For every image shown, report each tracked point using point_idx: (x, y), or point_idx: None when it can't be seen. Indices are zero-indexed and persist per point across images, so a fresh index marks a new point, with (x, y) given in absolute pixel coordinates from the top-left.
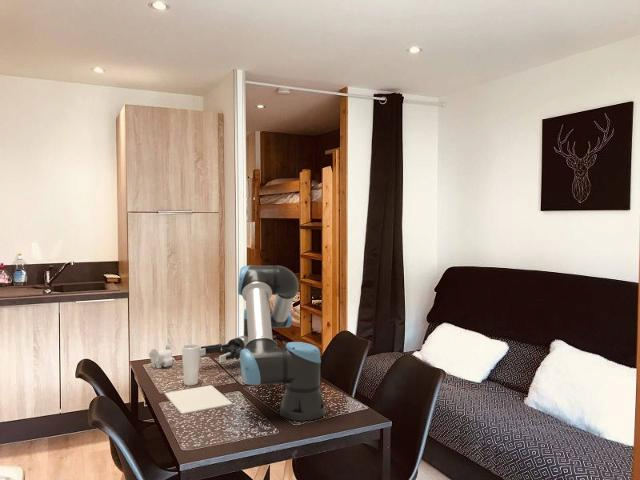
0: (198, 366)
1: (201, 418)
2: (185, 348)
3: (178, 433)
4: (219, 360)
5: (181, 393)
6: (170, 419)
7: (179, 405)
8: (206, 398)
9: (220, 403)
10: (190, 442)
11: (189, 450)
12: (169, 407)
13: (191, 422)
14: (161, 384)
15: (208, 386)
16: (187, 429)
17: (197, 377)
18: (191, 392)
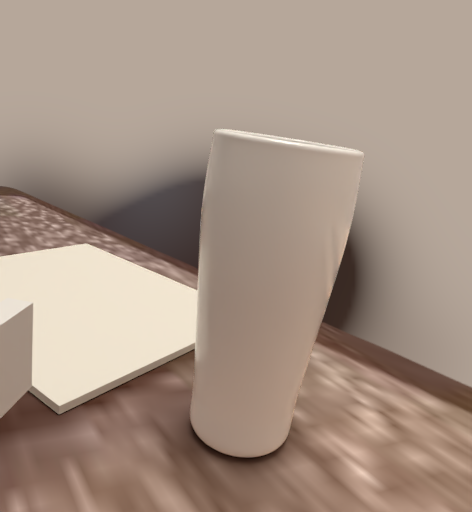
0: (199, 305)
1: (13, 238)
2: (283, 139)
3: (53, 215)
4: (25, 357)
5: (180, 316)
6: (105, 238)
7: (121, 264)
8: (34, 294)
9: None
10: (11, 202)
11: (6, 195)
12: (153, 268)
13: (38, 231)
14: (387, 393)
15: (75, 387)
16: (36, 219)
17: (194, 385)
18: (139, 325)
